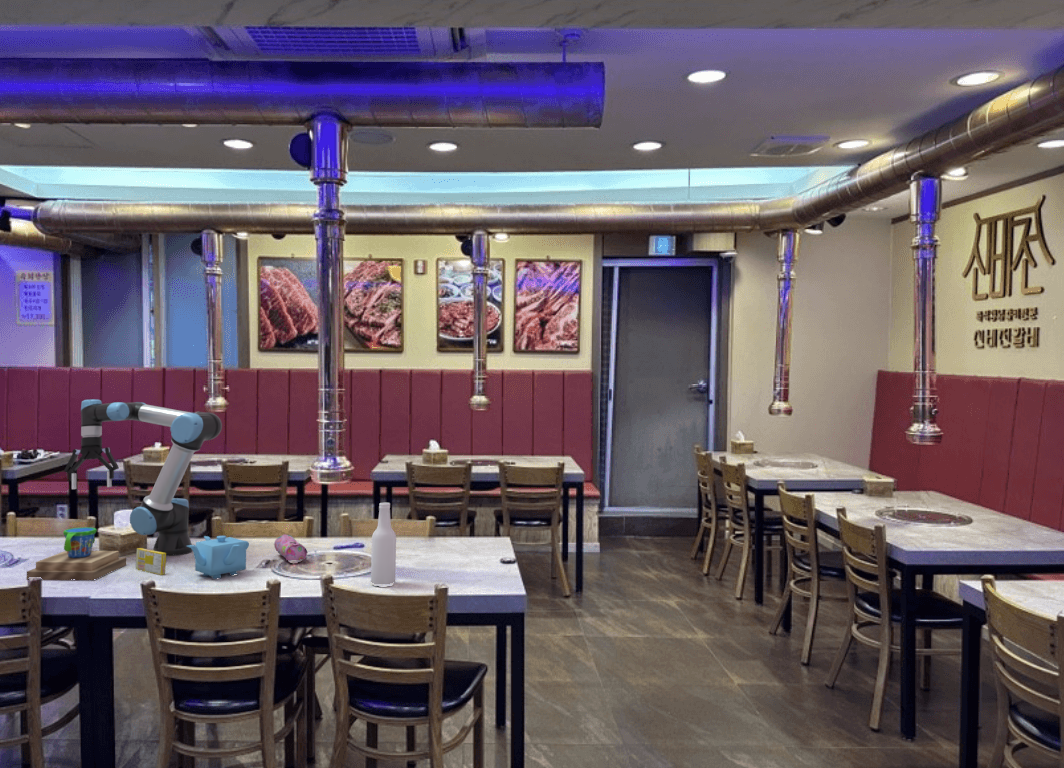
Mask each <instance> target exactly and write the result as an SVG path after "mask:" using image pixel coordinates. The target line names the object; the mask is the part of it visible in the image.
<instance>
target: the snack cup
mask: <svg viewBox="0 0 1064 768" xmlns="http://www.w3.org/2000/svg"><path fill="white" fill-rule="evenodd" d="M96 533H97V528H96V527H74V528H73V527H72V528H68V529H67V528H66V529H65V530H63V535H64V537H65V540H64V545H63V550H64V551H67V553H68V557H71V558H81V557H86V556H89V555H91V551H93V550H92V549H93V545H94V544H95V540H96V538H95V534H96Z"/></svg>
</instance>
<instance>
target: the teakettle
mask: <svg viewBox="0 0 1064 768" xmlns="http://www.w3.org/2000/svg"><path fill="white" fill-rule="evenodd" d="M203 538H204V539H205V540H201V541H196V542H195V544H192V545H189V546H187V547H189V548H191V549H192V552H193V557H194V560H195V562H194V563H195V565H194V567H195V568H194V571H196V572H199V573H201V574H202V576H203V577H204V576H205V577H207V576H208V575H209V576H210V577H212V578H213V579H212V580H218V579H217V578H220V577H221V576H222V575H224V574H228V573H229V575H230V574H231V575H234V574H238V575H239V573H238V572H240V571H244V570H247V550H248V548H249V546H250V542H249V541H247V540H243V539H239V538H235V537H232V536H229V537H228V536H227V535H217V536H216V538H214V539H211V537H210V536H208V535H207V536H206V535H204V536H203ZM231 575H230V576H231ZM220 579H221V578H220Z"/></svg>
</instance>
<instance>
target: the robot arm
mask: <svg viewBox="0 0 1064 768" xmlns="http://www.w3.org/2000/svg"><path fill="white" fill-rule="evenodd" d="M80 406H81V407H80V418H81V419H80V421H81V423H80V426H81V430H80V436H81V441H80V447H81V448H80V449H78V448H77V449H72V454H71V456H70V458H69V460H68V462H67V464H66V466H65V468H64V473H68V479H69V482H71V490H77V473H76V471H77V470H78V469H79V468H80V467H81V465H82V464H83V463H84V462H85V461H87V460H99V461H100V462H101V464H102V465H104V467H105V468H107V472H106V487H107V488H112V486H113V485H112V480H113V479H115V478H114V477H115V471H116V470H118V469H120V468H119V465H118V463H117V461H116V460H115V457H114V456H113V454H112V452H111V448H110V447H105V448H103V437H102V435H103V433H102V432H103V428H102V426H103V423H105V422H121V421H138V422H143V423H144V422H145V423H149V424H153V425H159V426H163V427H169V429H170V431H169V432H170V433H171V434H170V435H171V438H170V440H171V443H172V445H171V448H170V450H169V452H168V454H167V457H166V459H165V461H164V463H163V465H162V468H161V469H160V472H159V474H158V477H157V479H156V480H155V483H154V486H153V488H152V490H151V492H150V494H149V495H145V497H144V498H143V500H142V501H141V504H140V506H137V507H135V508H134V509H132V511H130V515H129V523H130V526H131V528H132V530H133V531H134V532H135V533H137V534H138V535H141V536H146V535H153V534H156V533H157V537H156V540H155V542H154V545H153V549H152V550H153V551H158V552H163V553H166V557H168V556H180V555H184V554H185V555H186V554H189V552H190V553H191V552H193V550H192V549H191V548H189V547H187V546H189V545H193V544H192V542H191V538H190V535H189V516H190V515H189V510H190V506H189V504H190V503H189V500H188V499H186V498H178V497H176V498H175V494H176V493H177V490H178V488H179V486H180V484H181V481H182V480H183V477H184V475H185V472H186V471H187V468H188V466H189V464H190V462H191V461H192V458H193V456H194V455H195V454H194V453H195V452H198V451H200V450H201V448H202V445H203V444H204V442H205V441H206V442H207V441H211V440H213V439H215V438H217V437H218V436H219V435H220V433H221V432H222V429H223V423H222V420H221V418H220V417H219V416H218V415H217V414H215V413H213V412H209V411H208V412H203V411H195V412H190V411H184V410H177V409H175V408H174V409H172V408H168V407H163V406H157V405H152V404H151V405H150V404H146V403H145V402H140V401H136V402H135V401H134V402H120V401H119V402H108V403H107V402H106V403H103V401H102V400H100V399H84V400H82V401H81V405H80ZM103 453H104V454H105V455H106V458H107V459H108V460H109V462H108V461H107V460H106V458H105V457H104V456H103V455H102V454H103ZM80 454H81V456H80V457H79V459H78V455H80ZM77 459H78V460H77ZM76 460H77V461H76Z"/></svg>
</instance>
